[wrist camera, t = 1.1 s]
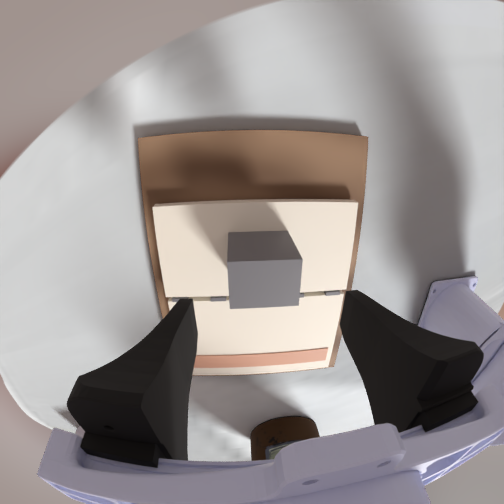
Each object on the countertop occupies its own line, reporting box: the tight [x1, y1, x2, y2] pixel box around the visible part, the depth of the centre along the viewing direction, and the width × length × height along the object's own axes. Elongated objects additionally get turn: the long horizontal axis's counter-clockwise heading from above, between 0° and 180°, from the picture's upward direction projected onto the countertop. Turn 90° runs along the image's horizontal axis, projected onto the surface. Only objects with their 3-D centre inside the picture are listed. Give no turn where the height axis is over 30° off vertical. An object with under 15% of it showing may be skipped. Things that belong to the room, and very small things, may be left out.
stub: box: [152, 199, 358, 309], centre depth 18 cm, size 7×14×5 cm, turn 91°
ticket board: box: [138, 130, 368, 376], centre depth 22 cm, size 22×16×1 cm
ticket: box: [168, 290, 344, 375], centre depth 23 cm, size 9×14×1 cm, turn 90°
